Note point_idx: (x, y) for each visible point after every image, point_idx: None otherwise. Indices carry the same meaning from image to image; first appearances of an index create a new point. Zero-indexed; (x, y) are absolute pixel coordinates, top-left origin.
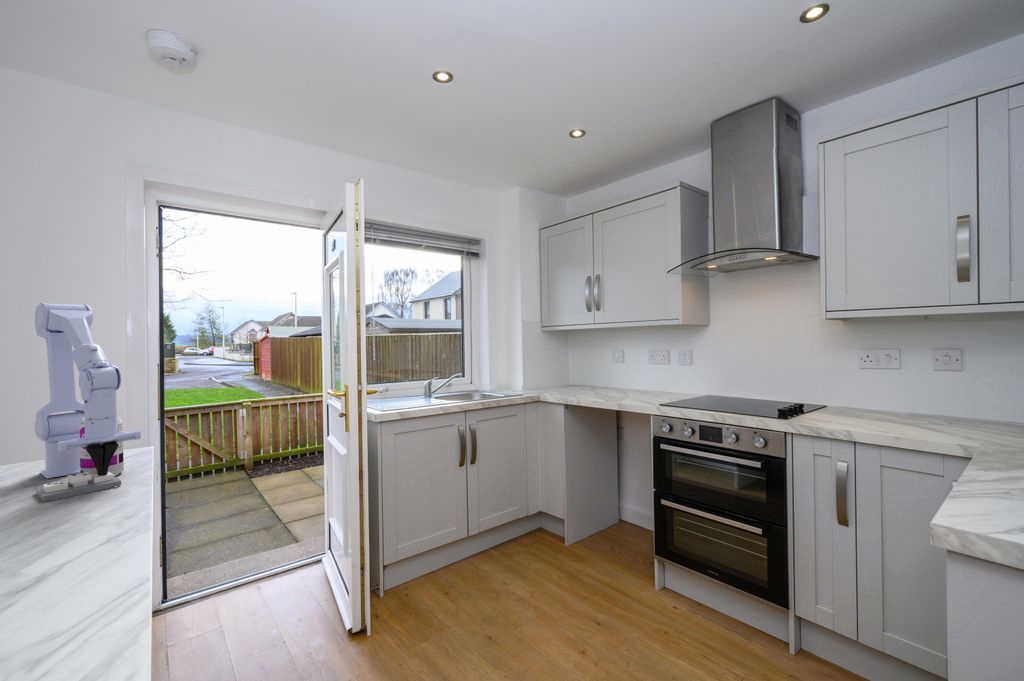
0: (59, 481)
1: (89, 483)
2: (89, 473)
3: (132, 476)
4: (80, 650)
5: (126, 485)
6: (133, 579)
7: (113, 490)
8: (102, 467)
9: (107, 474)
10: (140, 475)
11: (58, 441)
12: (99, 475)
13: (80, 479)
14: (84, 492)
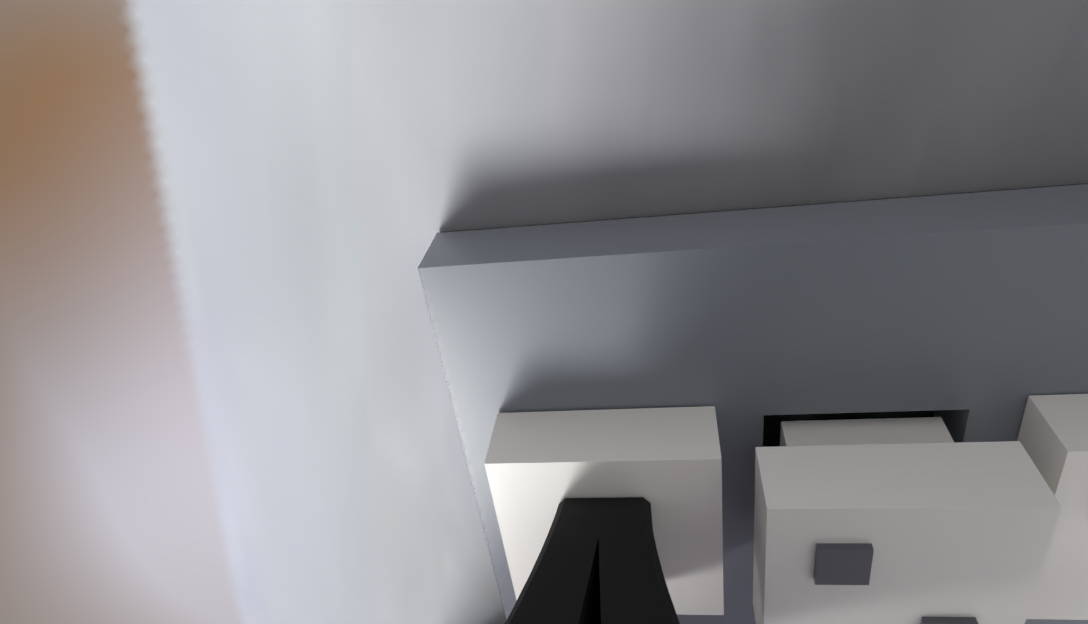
0: (1077, 614)
1: (760, 444)
2: (770, 579)
3: (340, 539)
4: None
5: (380, 201)
6: None
7: (536, 47)
8: (610, 591)
9: (554, 512)
10: (269, 519)
11: None
12: (650, 506)
13: (905, 468)
14: (864, 205)
